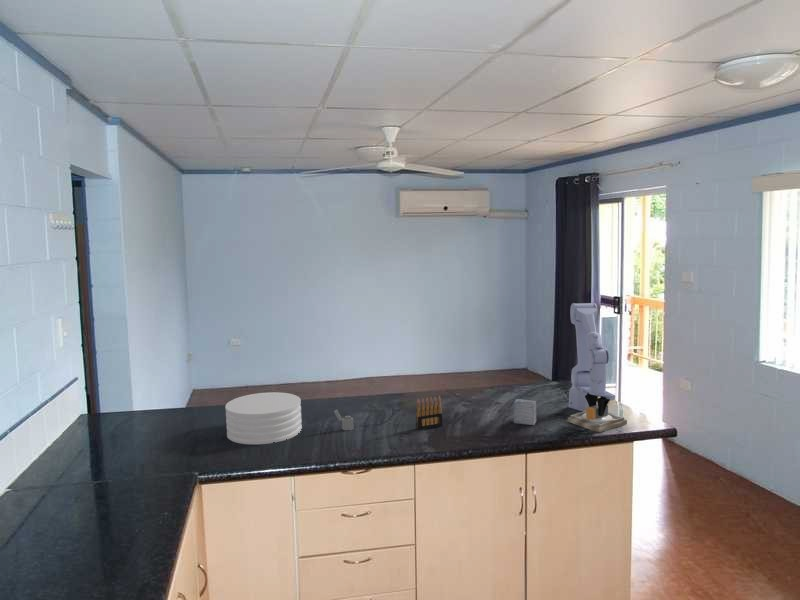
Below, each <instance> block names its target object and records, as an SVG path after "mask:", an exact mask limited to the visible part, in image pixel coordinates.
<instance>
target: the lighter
mask: <svg viewBox="0 0 800 600" xmlns="http://www.w3.org/2000/svg"><path fill="white" fill-rule="evenodd" d="M333 412H334V413H333V414H335V417H336V418H337V420H338V422H342V424H341V426H342V428H341V429H343V430H345V431H353V430H352V429H354V418H353V417H352V416H351V415H345V416H344V418H343V417H342V416H341V414H340V412H339V411H338V409H336V410H334V411H333ZM343 430H342V431H343Z"/></svg>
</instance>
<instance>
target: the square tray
mask: <svg viewBox="0 0 800 600" xmlns="http://www.w3.org/2000/svg"><path fill="white" fill-rule="evenodd" d="M584 413H586V411H584V412H582V411H580V412H577V413H574V414H570V417H567V422H568V423H571V424H573V425H577V426H579V427H582V428H585V429H589V430H591V431H595V432H597V433H603V432H605V431H608V430H609V431H610V430H612V429H615V428H618V427H621V426H625V425H627V424H628V419H625V417H624V416H619V415H616V414H614V413H610V412H608V415H610V416H612V420H610V421H608V422H605V423H602V424H598V423H595V422H592V421H589V420H588V419H585V418H582V415H583V414H584Z"/></svg>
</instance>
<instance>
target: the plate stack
mask: <svg viewBox="0 0 800 600" xmlns="http://www.w3.org/2000/svg"><path fill="white" fill-rule="evenodd" d="M301 401H302V400H301V398H300V396H298V395H295V394H293V393H288V392H278V391H277V392H275V391H274V392H257V393H251V394H247V395H242V396H239V397H236V398H233V399H232V400H230V401H228V402H227V403H226V404H225V406H224V407H225V409H224V410H225V417H226V419H225V422H226V423H225V424H226V437H227V439H228V440H230V441H232V442H234V443H238V444H242V445H266V444H267V445H268V444H274V443H273V442H275V443H279V442H283V441H287V440H290V439H292V438H294V437H296V436H297V435H299V434H300V433H301V432H300V431H302V430H303V426H302V422H303V420H302V405H301V404H302V402H301ZM301 429H302V430H301ZM298 433H299V434H298ZM286 439H287V440H286Z"/></svg>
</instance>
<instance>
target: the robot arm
mask: <svg viewBox="0 0 800 600" xmlns="http://www.w3.org/2000/svg"><path fill="white" fill-rule="evenodd" d="M569 311H570V312H569V313H570V316H569V317H570V322H571V324H573V325H574V327H575V334H576V335H575V336H576V350H577V351H576V352H577V364H576V365H575V366H573V367H572V369H571V375H570V377H571V378H570V381H571V387H570V388H569V392H568V405H567V408H570V409H573V410H576V411H579V412H584V411H586V408H587V407H591V406H595V405H598V408H599V416H603V415H604V412H605V409H606V406H607V405H609V403H610V401H616V394H614V393H611V392H608V391H607V389H606V388H607V386H606V384H607V383H606V382H607V381H606V380H607V364H609V359H610V357H609V355H610V354H609V351H608V349H607V347H606V346H604V343H603V340H602V335H601V334H600V333H598V332H597V327H596V326H597V325H596V319H597V316H598V311H599V310H598V305H597V303H595V302H592V303H590V302H588V303H587V302H586V303H583V302H582V303H581V302H580V303H574V302H572V303H571V305H570V309H569Z"/></svg>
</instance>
